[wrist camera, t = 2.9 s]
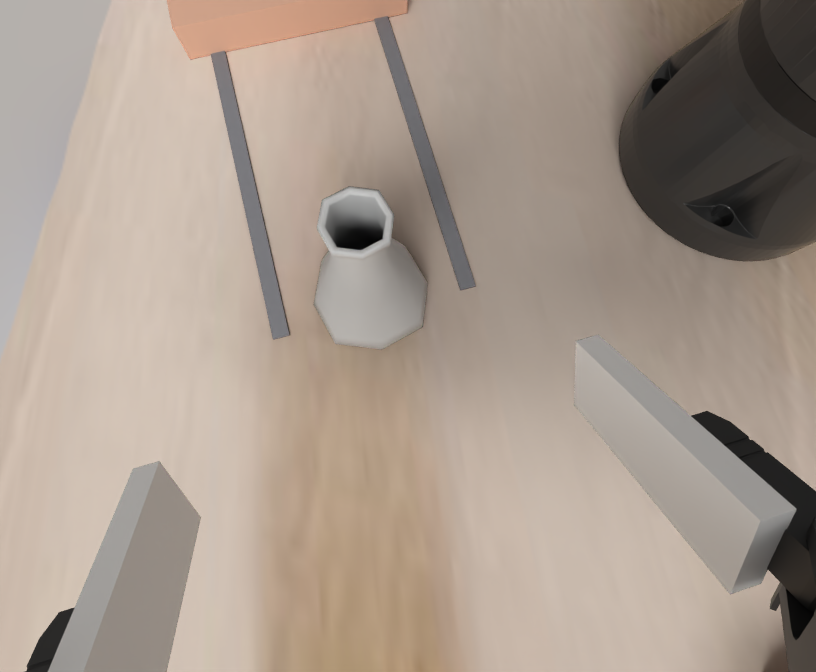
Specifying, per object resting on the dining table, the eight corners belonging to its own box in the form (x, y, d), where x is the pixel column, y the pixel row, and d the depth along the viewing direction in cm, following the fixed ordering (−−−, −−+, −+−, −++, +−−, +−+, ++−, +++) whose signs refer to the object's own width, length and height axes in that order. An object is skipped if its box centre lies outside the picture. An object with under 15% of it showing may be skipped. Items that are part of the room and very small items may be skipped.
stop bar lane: (398, -13, 33) (398, -49, 30) (497, 280, 28) (507, 265, 25) (184, 32, 32) (166, -2, 29) (249, 345, 27) (234, 337, 24)
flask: (439, 339, 27) (461, 287, 17) (323, 361, 27) (278, 321, 17) (416, 232, 29) (424, 129, 19) (306, 252, 28) (255, 157, 18)
